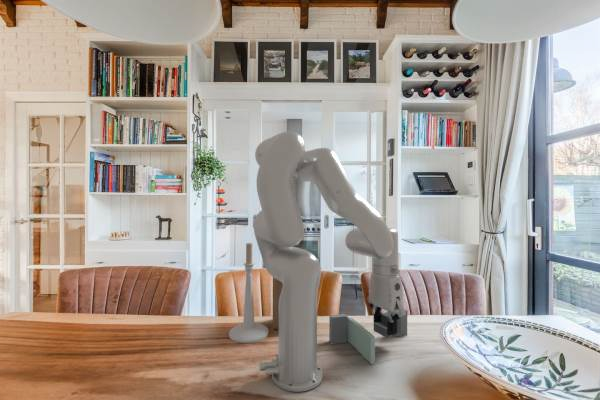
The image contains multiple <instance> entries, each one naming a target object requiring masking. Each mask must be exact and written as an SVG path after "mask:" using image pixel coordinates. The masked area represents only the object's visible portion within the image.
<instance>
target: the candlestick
mask: <svg viewBox="0 0 600 400" xmlns="http://www.w3.org/2000/svg"><path fill="white" fill-rule="evenodd" d="M243 265H244V270H245V271H246V274H245V286H244V287H245V289H244V304H243V305H244V306H243V308H244V309H243V321H242V323H239V324H237V325H235V326H233V327H232V328H231V329H230V330H229V331H228V337H229V339H230V340H232V341H233V342H236V343H240V344H243V343H244V344H248V343H255V342H256V343H257V342H259V341H261V340H264V339H265V338H267V337H268V335H269V328H268V327H267V326H266V325H265V324H263V323H259V322H257V321H256V322H255V310H254V309H255V308H254V290H253V289H254V287H253V284H254V283H253V274H252V272H253V269H254V265H255V263H254V262H253V242H246V244H245V263H243Z"/></svg>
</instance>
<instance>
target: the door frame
mask: <svg viewBox="0 0 600 400" xmlns="http://www.w3.org/2000/svg"><path fill="white" fill-rule="evenodd" d="M404 310H405V312H406V315H404V316H403V317H401V333H399V334H396V335H392V336H391V337H393V338H395V337H403V336H408V310H407V309H405V308H404ZM397 311H398V310H397ZM392 314H393V315H394V313H392ZM347 316H348V315H346V314H345V313H339V314H330V315H329V330H328V331H329V333H328V334H329V339H328V340H329V343H330V344H331V345H333V344H342V343H347V342H348V340H347Z"/></svg>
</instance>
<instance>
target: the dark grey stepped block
mask: <svg viewBox="0 0 600 400" xmlns="http://www.w3.org/2000/svg"><path fill="white" fill-rule="evenodd" d="M382 313H383V312H382ZM392 315H393V314H392ZM393 316H394V315H393ZM388 321H389V317H388V312H384V313H383V314H381V321H379V322H375V323H374V322H373V332H375V333H376V334H379V335H380V336H382V337H384V338H389V337H393V336H392V335H391V336H389V335H388ZM399 333H401V318H400V319H399V321H397V334H399ZM394 335H396V334H394Z"/></svg>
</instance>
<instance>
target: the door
mask: <svg viewBox="0 0 600 400" xmlns="http://www.w3.org/2000/svg"><path fill="white" fill-rule="evenodd" d="M346 316H347V342H348V343H350V345H352V346H353V347H354V348H355V350H357V351H358V352H359V353H360V354H361V355H362V357H364V358H365V360H366V361H368V362H369V363H370V364H372V365H373V364H375V363H376V336H375V335H373V334H372V333H371V332H370V331H368V330H367V329H366V328H365V327H364V326H363V325H361V324H360V323H359V322H358V321H357V320H355V319H354V317H352V316H350V315H346Z"/></svg>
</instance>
